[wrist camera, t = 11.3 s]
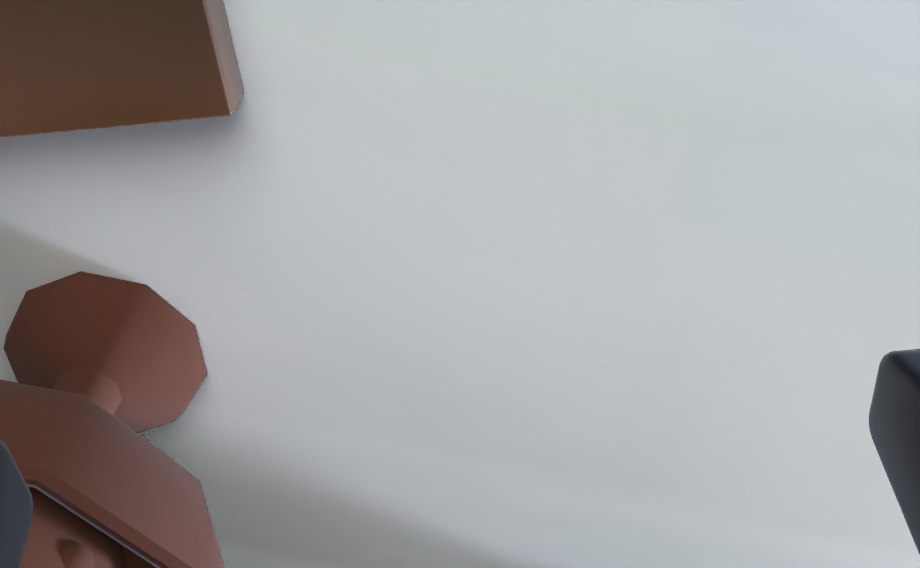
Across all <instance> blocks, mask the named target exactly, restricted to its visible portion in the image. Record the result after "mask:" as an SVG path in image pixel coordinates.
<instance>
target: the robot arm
mask: <svg viewBox="0 0 920 568" xmlns="http://www.w3.org/2000/svg"><path fill="white" fill-rule="evenodd" d="M869 427H870V432H871V436H872V439H873V442H874V444H875V447H876V449H877V451H878V454H879V456H880V459H881V461H882V464H883V466H884V469H885V471H886V473H887V476H888V478H889V481H890V483H891V486H892V488H893V491H894V493H895V495H896V498H897V500H898V503H899V505H900V508H901V510H902V513H903V515H904V518H905V520H906V522H907V525H908V527H909V530H910V532H911V535H912V537H913V540H914V542H915V544H916V547H917V549H918V552H919V554H920V349H913V350H903V351H893V352H890V353H888V354H886V355H885V356H884V357H883V359H882V360H881V363H880V366H879V370H878V375H877V379H876V384H875V389H874V393H873V398H872V403H871V408H870V413H869ZM32 515H33V500H32V495H31V492H30V490H29V488H28V486H27V484H26V482H25V480H24V478H23V476H22V474H21V472H20V470H19V468H18V467H17V465H16V463H15V461H14V459H13V457H12V455H11V453H10V451H9V449H8V447H7V446H6V444H5V443H3V442H2V441H1V440H0V568H19V564H20V561H21V557H22V553H23V550H24V546H25V542H26V538H27V535H28V531H29V527H30V523H31V520H32Z"/></svg>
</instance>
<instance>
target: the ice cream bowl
mask: <svg viewBox="0 0 920 568" xmlns="http://www.w3.org/2000/svg"><path fill="white" fill-rule="evenodd" d="M4 350H5V352H6V355H7V357H8V360H9V362H10V364H11V367H12V369H13V372H14V374H15V377H16V379H17V381H18V383H15V382H10V381H4V380H0V440H1V441H2V442H3V443H5V444H6V446H7V447H8V449H9V451H10V453H11V455H12V457H13V459H14V461H15V463H16V465H17V467H18V468H19V470H20V472H21V474H22V476H23V478H24V480H25V482H26V484H27V486H28V488H29V490H30V492H31V495H32V500H33V515H32V520H31V523H30V527H29V531H28V535H27V538H26V542H25V546H24V550H23V553H22V557H21V561H20V564H19V568H225V567H224V563H223V560H222V556H221V553H220V549H219V546H218V543H217V539H216V536H215V532H214V529H213V525H212V522H211V518H210V515H209V511H208V508H207V505H206V501H205V498H204V494H203V491H202V487H201V484H200V481H199V480H198V479H196V478H195V477H194V476H193V475H191V474H190V473H189V472H188V471H186V470H185V469H184V468H183V467H181V466H180V465H179V464H178V463H176V462H175V461H174V460H173V459H171V458H170V457H169V456H168V455H166V454H165V453H164V452H162V451H161V450H159V449H158V448H157V447H155V446H154V445H153V444H151V443H150V442H149V441H147V440H146V439H144V438H143V437H142V436H140V435H139V434H138V433H140V432H143V431H146V430H149V429H152V428H155V427H158V426H161V425H164V424H167V423H170V422H174V421H175V420H176V419H177V418H178V417H179V416H180V415H181V414H182V413H183V412H184V410H185V409H186V407H187V405H188V404H189V402H190V401H191V399H192V397H193V396H194V394H195V393H196V391H197V389H198V388H199V386H200V385H201V383H202V382H203V380H204V378H205V377H206V375H207V371H206V367H205V363H204V359H203V355H202V351H201V347H200V344H199V340H198V336H197V332H196V328H195V325H194V324H193V323H192V322H190V321H189V320H188V319H187V318H186V317H184V316H183V315H182V314H181V313H180V312H178V311H177V310H176V309H175V308H174V307H172V306H171V305H170V304H169V303H168V302H166V301H165V300H164V299H163V298H162V297H160V296H159V295H158V294H157V293H156V292H154V291H153V290H152V289H151V288H150V287H148V286H147V285H144V284H139V283H134V282H129V281H124V280H120V279H115V278H110V277H105V276H100V275H95V274H90V273H86V272H78V273H76V274H73V275H70V276H67V277H65V278H62V279H59V280H56V281H54V282H51V283H48V284H46V285H43V286H40V287H37V288H35V289H32V290H29V291H26V293H25V295H24V298H23V300H22V302H21V304H20V306H19V308H18V311H17V313H16V315H15V317H14V319H13V321H12V324H11V326H10V328H9V330H8V332H7V334H6V339H5V344H4Z"/></svg>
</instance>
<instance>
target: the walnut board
mask: <svg viewBox="0 0 920 568" xmlns="http://www.w3.org/2000/svg"><path fill="white" fill-rule="evenodd" d="M243 95H244V89H243V84H242V80H241V76H240V72H239V67H238V63H237V59H236V54H235V50H234V46H233V42H232V37H231V33H230V29H229V24H228V20H227V16H226V12H225V7H224V3H223V0H0V138H2V137H13V136H23V135H33V134H44V133H54V132H65V131H75V130H85V129H96V128H106V127H117V126H127V125H137V124H148V123H158V122H169V121H179V120H189V119H200V118H210V117H221V116H230V115H232V114H233V112H234V111H235V109H236V107H237V106H238V104H239V102H240V100H241V99H242V97H243Z"/></svg>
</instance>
